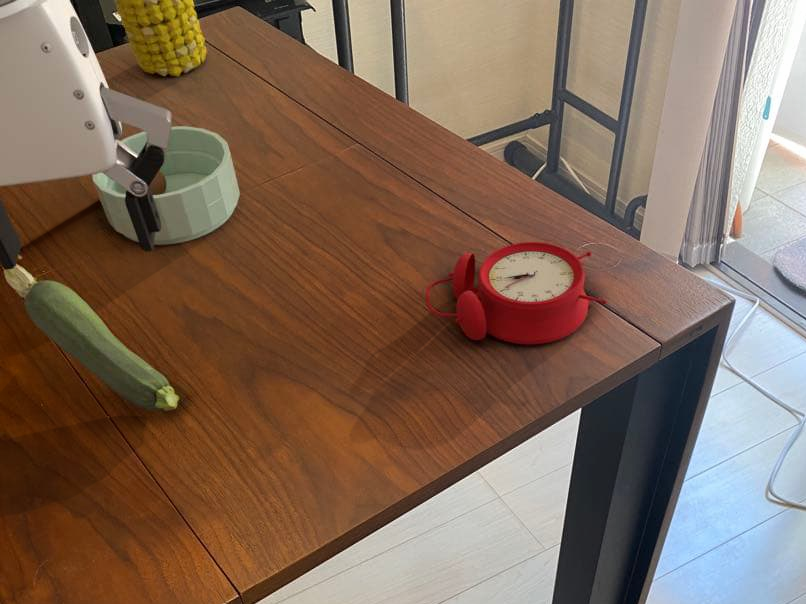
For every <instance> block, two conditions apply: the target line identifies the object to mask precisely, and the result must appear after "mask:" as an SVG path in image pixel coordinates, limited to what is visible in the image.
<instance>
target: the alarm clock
mask: <svg viewBox="0 0 806 604" xmlns="http://www.w3.org/2000/svg"><path fill="white" fill-rule="evenodd" d="M591 256H592V252H591V250H588V251H587V252H586V253H584V254H582V255H579V256H576V254H574V253H573V252H571V251H570V250H568V249H566V248H564V247H562V246H559V245H556V244H552V243H548V242H543V241H542V242H541V241H526V242H525V241H523V242H518V243H513V244H509V245H506V246H503V247H501V248H499V249H497V250H494V252H492V253H491V254H489V255H488V256H487V257H486V258H485V260H484V261H483V262H482V264H481V266H480V268H479V272H478V275H477V278H478V287H474V283H475V276H476V257H475V253H473V252H466V253H464V254H462V255H461V256H460V257H459V258H458V259H457V261H456V264H455V266H454V270H453V272H449V273H448V277H445V278H442V279H439V280H435V281H434V282H432V283H431V284H430V285H429V286H428V288H427V289H426V293H425V302H426V305H427V308H428V309H429V311H430V312H431V313H432V314H434V315H436V316H439V317H446V318H447V317H449V318H450V317H452V318H455V319H454V321H455V323H458V325H459V326H460V329H461V330H462V332H463V333H464V334H465V336H466V337H467V338H468V339H469V340H472V341H480V340H483V339H485V338H486V335H487V334H488V335H490V336H492V337H493V338H496V339H498V340H500V341H504V342H508V343H512V344H520V345H540V344H541V345H543V344H547V343H552V342H555V341H558V340H561V339H563V338H565V337H567V336H570V335H571V334H572V333H574V332H575V331H576V330H578V329H579V328H580V327H581V326H582V324H583V323H584V322H585V320H586V318H587V315H588V311H589V307H590V309H591V307H592V304H591V302H597V303H601V305H606V304H607V300H606V298H603V299H600V298H595V297H593V296H589V295H587V294H586V292H585V290H584V285H585V280H586V276H585V275H586V274H585V270H584V267H583V264H582V261H581V260H582V259H583V258H585V257H591ZM450 281H452V290H453V294H454V297H455V298H456V299H457V302H456V308H455V309H456V310H455V311H456V313H442V312H438V311H437V310H435V309H434V308H433V307H432V306H431V302H430V292H431V290H432V288H433V287H435V286H436V285H439V284H441V283H445V282H450ZM474 292H475V293H474Z"/></svg>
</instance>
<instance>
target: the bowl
mask: <svg viewBox="0 0 806 604" xmlns="http://www.w3.org/2000/svg"><path fill="white" fill-rule="evenodd" d="M147 139H148V135H147V133H146V132H145V131H144V130H143V131H141V132H138V133H135V134H132V135H130V136H127V137H125V138H123V139H122V140H120V141H121V142H122V143H123V144H125V145H126V146H127V147H129V148H130V149H131V150H133V151H134V152H135V153H137V154H138V155H139V154H140V152H141V150H142V149H143V147H144V146H145V144H146V142H147ZM159 171H160V172H161V173H162V174H163V175H164V177H165V179H166V184H167V186H166V191H165V193H164V194H160V195H153V198H154V201H155V204H156V207H157V210H158V213H159V216H160V221H161V231H160V232H155V239H154V246H155V245H156V246H162V245H163V246H164V245H165V246H166V245H175V244H180V243H186V242H190V241H192V240H195V239H199V238H201V237H203V236H206V235H208V234H210V233H212V232H214V231H215V230H216V229H218V228H220V227H221V226H222V225H224V224H225V223H226V222H227V221H228V220H229V219H230V218H231V216H232V214H233V213H234V211H235V209H236V208H237V205H238V202H239V200H240V199H239V198H240V196H241V193H240V188H239V184H238V179H237V176H236V170H235V167H234V163H233V159H232V154H231V151H230V147H229V144H228V141H226V140H225V139H224V138H223V137H222V136H221V135H220V134H218V133H216V132H214V131H211V130H209V129H205V128H201V127H194V126H186V125H184V126H183V125H182V126H181V125H179V126H172V127H171V132H170V137H169V141H168V146H167V150H166V154H165V158H164V163H163V165H162V167H161V168H160V170H159ZM91 178H92V182H93V185H94V189H95V190H96V193H97V195H98V198H99V201H100V203H101V206H102V209H103V211H104V215H105V217H106V219H107V221H108V224H110V226H111V227H112V228H113V229H114V230H115V231H116V232H117V233H119V234H121V235H123V236H124V237H125V238H127V239H129V240H131V241H133V242H137V243H139V241H138V238H137V235H136V232H135V229H134V227H133V224H132V221H131V218H130V215H129V213H128V210H127V207H126V204H125V196H126V189H124V188H123V187H121V186H120V185H119V184H117V183H116V182H115V181H113V180H112V179H110V178H109V177H108V176H106V175H105V174H103V173H102V172H101V173H98V174H93V175H91Z"/></svg>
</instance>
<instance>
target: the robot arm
mask: <svg viewBox="0 0 806 604" xmlns="http://www.w3.org/2000/svg"><path fill="white" fill-rule="evenodd" d="M172 114H173V113H171V111H170V110H169V109H167V108H164V107H162V106H159V105H156V104H153V103H151V102H147V101H144V100H142V99H139V98H137V97H133V96H131V95H128V94H125V93H122V92H119V91H116V90H114V89H111V88H110V87H109V85H108V83H107V80H106V77H105V74H104V73H103V70H102V67H101V65H100V63H99V60H98V58H97V56H96V54H95V51H94V49H93V47H92V44H91V42H90V40H89V37H88V36H87V33H86V31H85V29H84V27H83V24H82V23H81V20H80V18H79V16H78V14H77V12H76V11H75V8H74V6H73V4H72V3H71V0H0V187H9V186H16V185H24V184H34V183H40V182H49V181H56V180H64V179H65V180H66V179H71V178H79V177H85V176H92V175H93V174H98V173H101V172H102V173H103V174H105V175H106V176H108V177H109V178H110V179H112V180H113V181H115V182H116V183H117V184H119V185H120V186H121V187H123V188H124V189H126V196H125V204H126V207H127V210H128V213H129V215H130V218H131V221H132V224H133V227H134V229H135V232H136V235H137V238H138V241H139V242H138V243H139V246H140V249H141V250H142V251H144V252H146V253H147V252H153V251H154V247H155V245H154V239H155V232H160V231H161V221H160V216H159V213H158V210H157V207H156V204H155V201H154V198H153V195H152V191H151V188H150V184H151V182H152V181H153V179H154V177H155V176H156V174H157V173H158V171H159V170H160V168H161V167H162V165H163V163H164V158H165V154H166V150H167V146H168V141H169V137H170V132H171V127H173V115H172ZM122 124H126V125H128V126H130V127H134V128H136V129H139V130H142V131H143V132H144V131H145V132H146V133H147V135H148V139H147V142H146V144H145V146H144V147H143V149H142V150H141V152H140V154H139V155H138V154H137V153H135V152H134V151H133V150H131V149H130V148H129V147H127V146H126V145H125V144H123V143H122V142H121V140H119V138H121V137H122V136H123V128H122V127H123V125H122ZM20 239H21V238H20V237H19V235H18V233H17V231H16V229H15V227H14V225H13V223H12V221H11V219H10V216H9V215H8V213H7V211H6V209H5V206H4V203H3V202H2V200H1V199H0V264H1V266H2V269H3V268H4V269H5V270H8V269H13V268H14V267H15V266H16V264H17V263H18V260H19V259H18V256H20V251H21V249H22V241H21V240H20ZM4 269H3V270H4Z"/></svg>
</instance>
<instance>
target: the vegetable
mask: <svg viewBox="0 0 806 604" xmlns="http://www.w3.org/2000/svg"><path fill="white" fill-rule="evenodd" d="M22 259H23V257H22V256H21V255H19V256H18V260H22ZM2 270H3V274H4V278H5V280H6V282H7V283H8V285H10V287H11V288H12V289H14V290H15V291H16V292H17V294H18V295H19V296H20V297H21V298H24V308H25V311H26V313H27V315H28V317H29V318H30V320H31V322H32V323H33V324H34V325H35V326H36V327H37V328H38V329H39V330H40V331H41V332H42V333H43V334H44V335H45V336H46V337H47V338H48V339H50V340H51V341H52V342H53V343H55V344H56V345H57V346H58V348H60V349H61V350H63V351H64V352H65V353H67V354H68V355H69V356H71V357H73V358H74V359H75V360H76V361H77V362H78V363H79V364H80V365H81V366H83V367H84V368H86V370H88V371H89V372H91V373H92V374H93V375H95V376H96V377H97V378H98V379H99V380H101V381H102V382H103V383H104V384H105V385H106V386H107V387H108V388H110V389H111V390H112V391H113V392H114V393H115V394H117V395H118V396H119V397H121V398H122V399H124V400H125V401H127V402H128V403H130V404H132V405H133V406H135V407H138V408H140V409H141V410H144V411H149V412H162V411H164V412H165V411H172V410H176V409H177V407H178V402H179V400H180V397H179V395H177V394H176V392H175V390H174V388H173V387H172V386H171V384H170V383H169V381H168V379H167V378H166V377H165V375H163V374H162V373H160V372H159V371H158V370H156V369H155V368H154V367H152V366H151V364H149V363H147V362H146V361H145V360H144V359H143V358H141V357H140V356H138V355H137V354H136V353H134V352H133V351H132V350H130V349H129V348H127V346H125V345H124V344H123V343H122V342H121V341H120V340H119V339H118V338H117V337H116V336H115V335H114V334H113V333H112V331H110V329H109V328H108V327H107V326H106V324H105V323H104V321H103V320H102V319H101V317H100V316H99V315H98V314H97V313H96V312H95V311H94V310H93V309H92V308H91V307H90V306H89V304H88V303H87V302H86V301H85V300H83V298H82V297H80V296H79V295H78V294H77V293H76V292H75V291H74V290H72V289H71V288H70V287H68V286H66V285H64V284H62V283H61V282H58V281H55V280H48V279H47V280H39V281H37V279H38V278H37V277H34V276H32V274H31V273H30V272H28V270H26V269H25V268H24V267H23V266H21V265H19V264H17V263H16V266H15V267H14V268H13V269H8V270H5V269H4V268H3V267H2Z"/></svg>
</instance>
